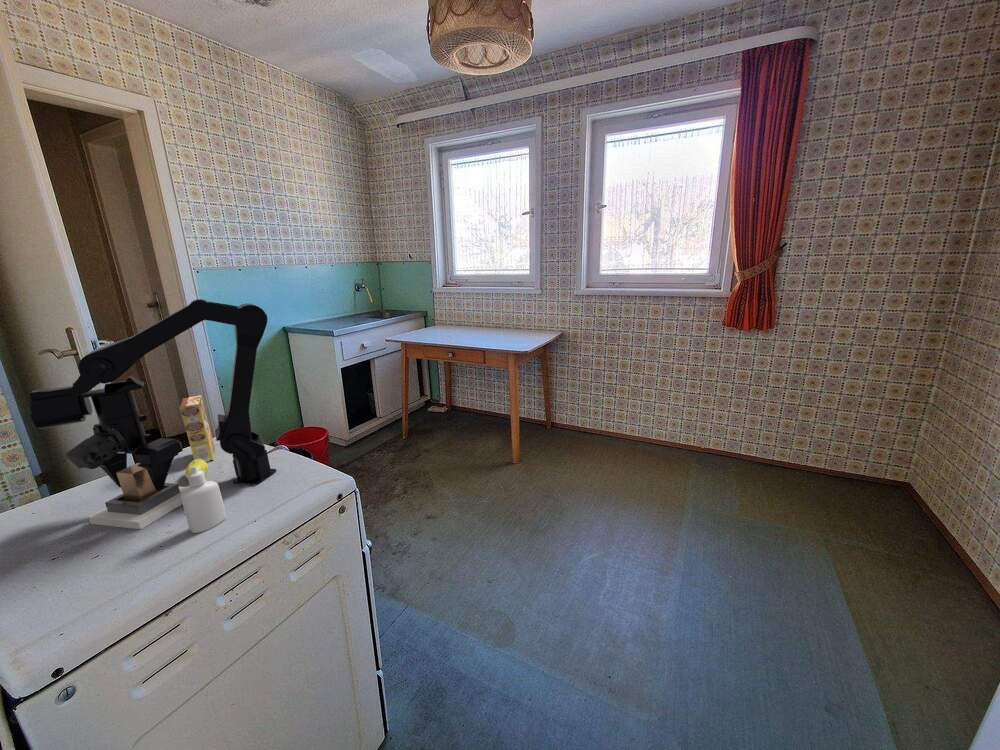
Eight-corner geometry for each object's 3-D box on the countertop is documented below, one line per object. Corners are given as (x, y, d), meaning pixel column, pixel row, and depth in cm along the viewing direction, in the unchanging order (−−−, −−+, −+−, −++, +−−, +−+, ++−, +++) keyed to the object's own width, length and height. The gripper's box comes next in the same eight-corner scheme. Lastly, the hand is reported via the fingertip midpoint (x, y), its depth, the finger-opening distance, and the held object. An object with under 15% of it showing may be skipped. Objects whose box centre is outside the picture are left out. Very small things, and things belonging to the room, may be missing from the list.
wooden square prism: (165, 503, 84) (153, 464, 82) (145, 515, 81) (132, 473, 78) (149, 502, 85) (137, 462, 83) (129, 513, 81) (116, 472, 79)
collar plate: (198, 494, 87) (194, 479, 86) (140, 529, 76) (135, 512, 75) (152, 490, 90) (148, 476, 89) (90, 523, 78) (84, 507, 77)
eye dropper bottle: (192, 523, 77) (176, 466, 74) (227, 514, 80) (213, 458, 76) (188, 536, 73) (171, 476, 70) (225, 525, 76) (211, 467, 73)
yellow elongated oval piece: (182, 486, 91) (178, 470, 90) (193, 470, 98) (189, 456, 97) (204, 482, 93) (200, 466, 92) (213, 467, 100) (209, 452, 99)
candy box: (214, 460, 103) (200, 403, 99) (194, 465, 101) (178, 407, 97) (215, 448, 110) (202, 394, 106) (196, 453, 108) (181, 397, 104)
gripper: (27, 429, 72) (56, 507, 76) (111, 433, 68) (137, 515, 72) (98, 408, 82) (120, 477, 86) (174, 410, 79) (194, 483, 83)
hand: (141, 488), depth 82 cm, fingers open, 9 cm apart
